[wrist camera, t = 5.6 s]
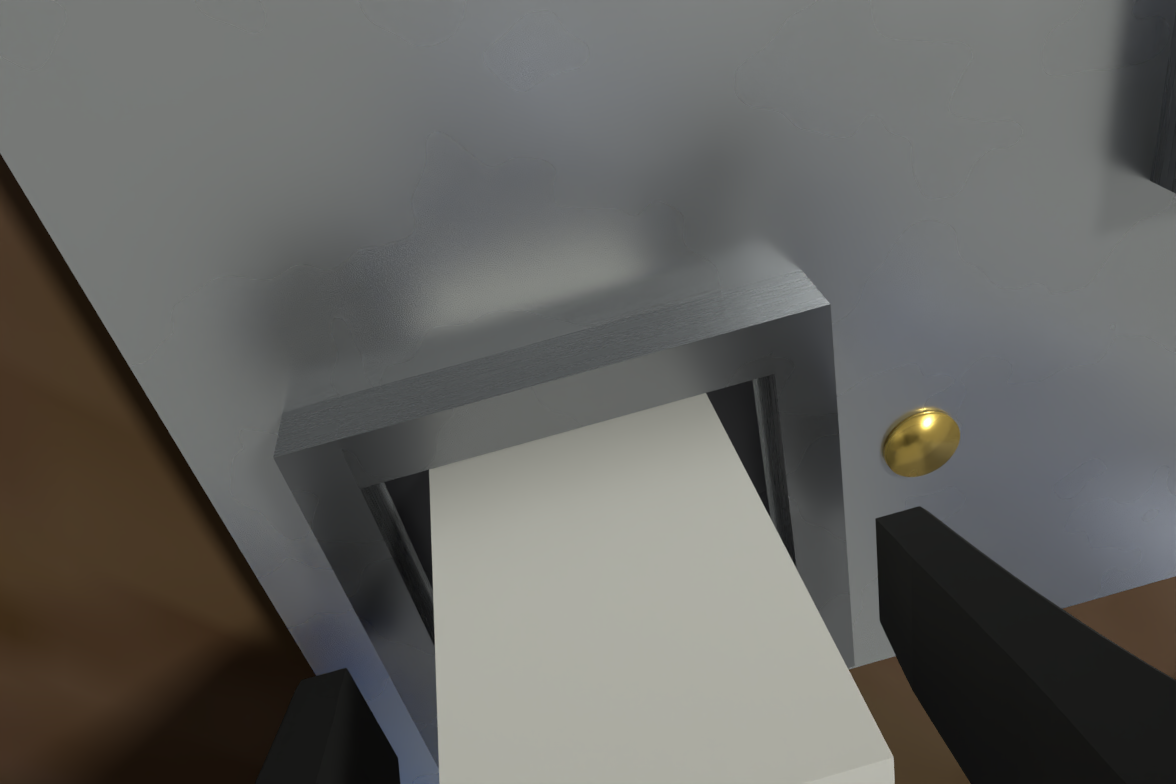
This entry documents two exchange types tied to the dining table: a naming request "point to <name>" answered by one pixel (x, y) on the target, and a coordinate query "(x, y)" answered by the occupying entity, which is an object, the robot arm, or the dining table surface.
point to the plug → (632, 619)
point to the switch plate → (625, 271)
